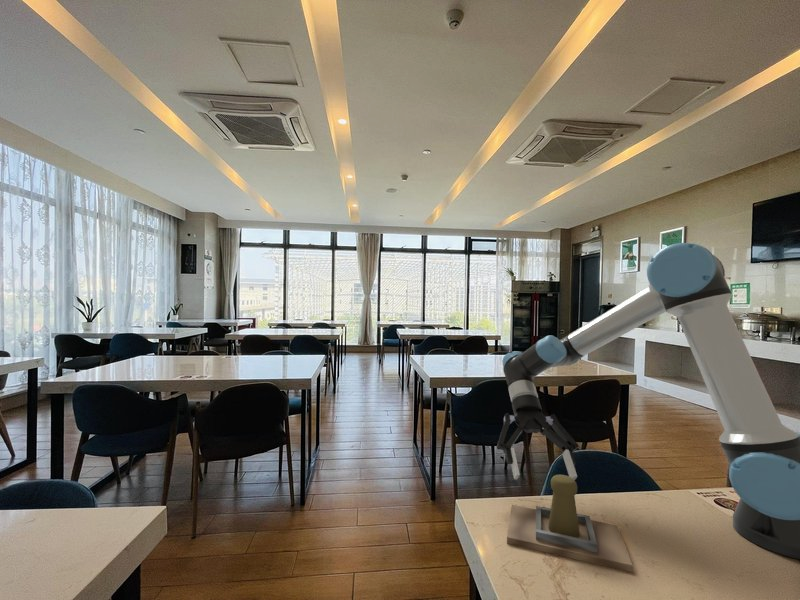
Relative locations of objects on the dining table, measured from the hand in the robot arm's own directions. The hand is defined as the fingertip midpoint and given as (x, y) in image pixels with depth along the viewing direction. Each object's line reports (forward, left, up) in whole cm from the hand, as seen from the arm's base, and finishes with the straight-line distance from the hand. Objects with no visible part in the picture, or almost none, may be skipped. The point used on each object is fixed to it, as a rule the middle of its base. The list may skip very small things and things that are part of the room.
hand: (545, 478), depth 86 cm
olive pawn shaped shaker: (-3, +9, -7) cm, 12 cm away
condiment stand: (-3, +9, -8) cm, 13 cm away
